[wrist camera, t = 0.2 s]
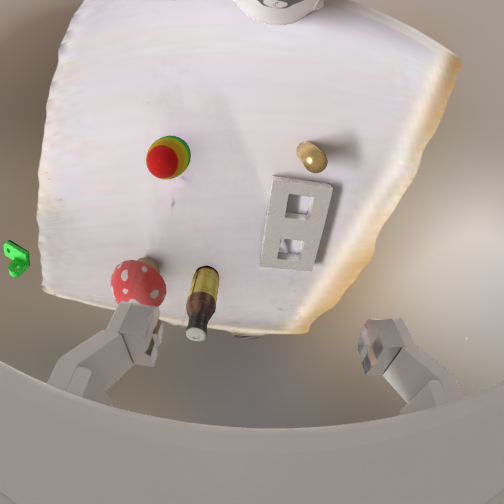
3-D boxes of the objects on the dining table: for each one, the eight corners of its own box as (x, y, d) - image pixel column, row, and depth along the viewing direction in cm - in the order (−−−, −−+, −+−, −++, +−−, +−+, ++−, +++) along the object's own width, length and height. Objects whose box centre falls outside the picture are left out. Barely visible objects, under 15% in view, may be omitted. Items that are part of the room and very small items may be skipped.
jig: (272, 175, 53) (273, 179, 51) (329, 183, 54) (333, 188, 51) (259, 258, 64) (260, 266, 61) (309, 263, 64) (311, 271, 62)
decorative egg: (199, 140, 49) (187, 149, 41) (187, 177, 53) (174, 193, 45) (161, 128, 48) (142, 136, 39) (151, 165, 52) (132, 180, 43)
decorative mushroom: (162, 293, 70) (146, 334, 57) (119, 268, 66) (96, 306, 53) (184, 259, 64) (168, 301, 51) (136, 231, 60) (109, 268, 47)
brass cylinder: (298, 140, 49) (306, 148, 42) (318, 143, 49) (329, 152, 42) (295, 159, 51) (302, 171, 44) (314, 162, 51) (325, 174, 44)
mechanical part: (28, 251, 64) (15, 265, 57) (29, 265, 67) (17, 279, 60) (6, 237, 61) (-8, 250, 55) (7, 251, 64) (-6, 264, 57)
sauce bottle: (204, 287, 69) (191, 349, 52) (189, 270, 66) (170, 331, 49) (226, 277, 67) (217, 340, 50) (211, 259, 64) (197, 320, 47)
